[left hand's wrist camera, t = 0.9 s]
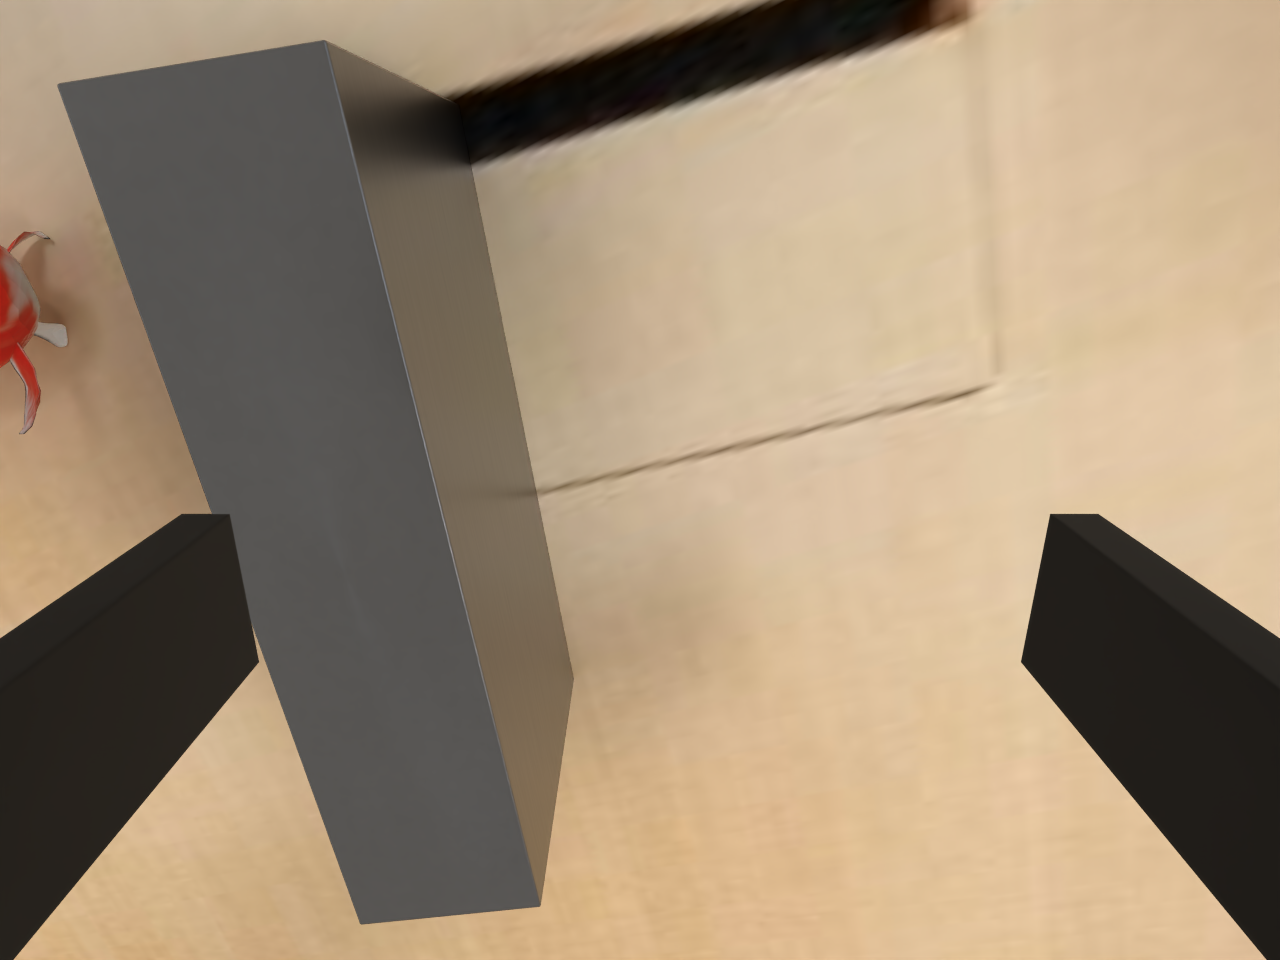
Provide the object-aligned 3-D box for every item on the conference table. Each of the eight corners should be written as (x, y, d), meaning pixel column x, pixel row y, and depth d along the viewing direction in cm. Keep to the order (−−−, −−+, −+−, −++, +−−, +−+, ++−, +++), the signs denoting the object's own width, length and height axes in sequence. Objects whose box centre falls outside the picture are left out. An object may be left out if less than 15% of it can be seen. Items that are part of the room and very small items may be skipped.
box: (298, 129, 28) (55, 83, 17) (458, 103, 28) (325, 39, 16) (450, 693, 37) (360, 925, 25) (574, 679, 37) (540, 907, 25)
